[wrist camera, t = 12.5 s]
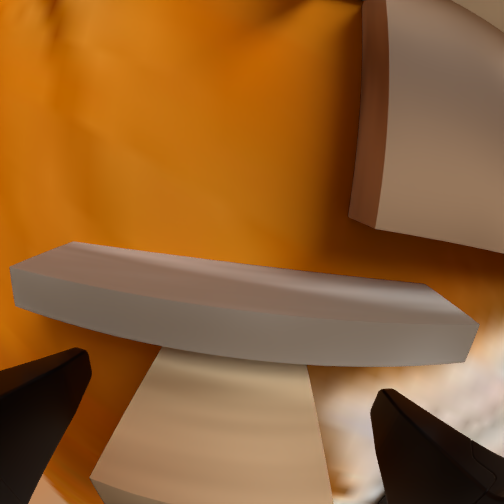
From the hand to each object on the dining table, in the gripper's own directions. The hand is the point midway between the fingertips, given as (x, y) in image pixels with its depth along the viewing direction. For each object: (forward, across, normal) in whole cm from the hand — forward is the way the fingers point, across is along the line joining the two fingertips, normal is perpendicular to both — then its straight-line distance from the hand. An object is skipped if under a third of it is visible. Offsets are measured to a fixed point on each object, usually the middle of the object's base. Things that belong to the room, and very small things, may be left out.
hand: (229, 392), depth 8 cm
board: (+2, -10, -9) cm, 14 cm away
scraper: (+3, 0, +1) cm, 3 cm away
